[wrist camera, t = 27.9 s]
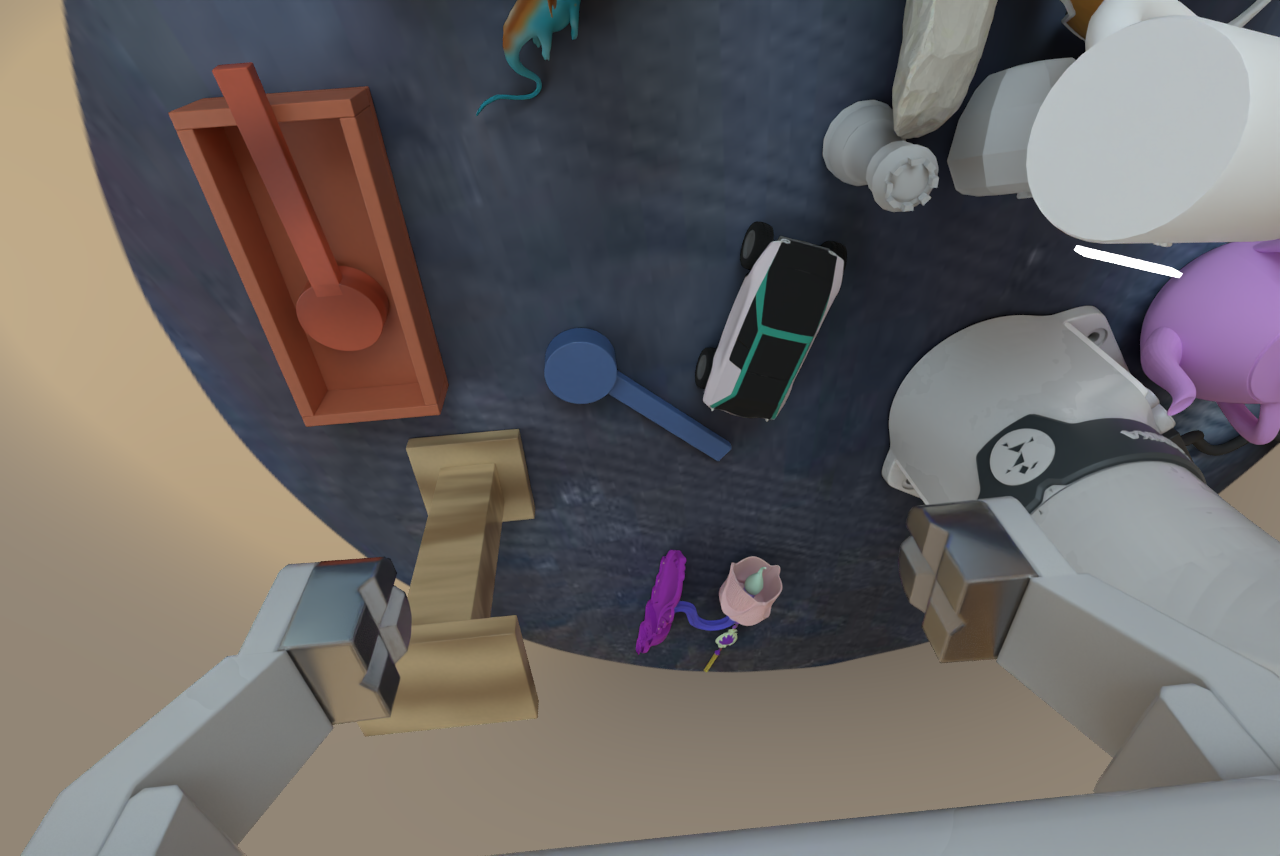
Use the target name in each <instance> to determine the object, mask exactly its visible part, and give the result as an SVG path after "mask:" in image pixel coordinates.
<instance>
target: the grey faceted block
mask: <svg viewBox="0 0 1280 856" xmlns="http://www.w3.org/2000/svg"><path fill="white" fill-rule="evenodd" d="M1075 61H1076V60H1075V59H1074V58H1072V57H1071V58H1060V59H1050V60H1042V61H1036V62H1032V63H1027V64H1023V65H1018V66H1015V67H1012V68H1009V69H1006V70H1003V71H1000V72H997V73H994V74H991V75H989V76H988V77H987V78H986V79H985V80H984V81H983V82H982V83H981V84H980V85H979V87H978V88H977V89H976V90H975V92H974V93H973V95H972V97H971V99H970V101H969V102H968V104H967V106H966V108H965V110H964V111H963V113H962V115H961V117H960V119H959V121H958V124H957V128H956V131H955V135H954V138H953V142H952V145H951V149H950V152H949V156H948V160H947V163H948V166H949V169H950V172H951V176H952V179H953V182H954V186H955V189H956V190H957V191H958V192H960V193H961V194H964V195H972V196H991V195H1003V194H1012V193H1018V194H1017V198H1018V199H1021V198H1030V197H1033V196H1032V193H1031V190H1030V187H1029V184H1028V177H1027V168H1026V160H1027V146H1028V142H1029V138H1030V134H1031V130H1032V126H1033V124H1034V121H1035V119H1036V116H1037V114H1038V112H1039V109H1040V107H1041V105H1042V104H1043V102H1044V100H1045V98H1046V97H1047V95H1048V93H1049V92H1050V90H1051V88H1052V87H1053V86H1054V85H1055V83H1056V82H1057V81H1058V79H1059V78H1060V77H1061V76H1062V74H1063V73H1064V72H1065V71H1066V70H1067V69H1068V68H1069V67H1070V66H1071V65H1072V64H1073V63H1074V62H1075Z"/></svg>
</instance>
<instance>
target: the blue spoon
mask: <svg viewBox="0 0 1280 856" xmlns="http://www.w3.org/2000/svg"><path fill="white" fill-rule="evenodd" d="M544 376H545V381H546V383H547V385H548V387H549V389H550V390H551V391H552V392H553V393H554V394H555V395H556V396H557V397H559V398H560V399H562V400H564V401H567V402H570V403H575V404H587V403H592V402H595V401H597V400H599V399H601V398H603V397H604V396H606V395H607V394H610V395H611V396H613V397H614V398H616V399H618V400H619V401H621V402H622V403H624V404H626V405H627V406H629V407H631V408H632V409H634V410H635V411H637V412H639V413H640V414H642V415H644V416H645V417H647V418H648V419H650V420H652V421H653V422H655V423H656V424H658V425H660V426H661V427H663V428H665V429H666V430H668V431H669V432H671V433H673V434H674V435H676V436H678V437H679V438H681V439H682V440H684V441H686V442H687V443H689V444H690V445H692V446H694V447H695V448H697V449H699V450H700V451H702V452H703V453H705V454H707V455H708V456H710V457H712V458H713V459H715V460H716V461H719V460H720V459H721V458H722V457H724V456H725V455H726V454H727V453H728V452H729V451H730V450H731V449H732V447H731V444H730V442H728V441H727V440H725V439H724V438H722V437H721V436H719V435H717V434H716V433H714V432H713V431H711V430H710V429H708V428H706V427H705V426H703V425H702V424H700V423H699V422H697V421H696V420H694V419H692V418H691V417H689V416H688V415H686V414H685V413H683V412H682V411H680V410H678V409H677V408H675V407H674V406H672V405H671V404H669V403H667V402H666V401H664V400H663V399H661V398H660V397H658V396H657V395H655V394H653V393H652V392H650V391H649V390H647V389H646V388H644V387H643V386H641V385H639V384H638V383H636V382H635V381H633V380H632V379H630V378H628V377H627V376H625V375H624V374H622V373H621V372H619V371H618V370H617V365H616V355H615V351H614V348H613V346H612V344H611V343H610V341H609V340H608V339H607V338H606V337H605V336H603V335H602V334H601V333H599V332H597V331H594V330H591V329H587V328H573V329H569V330H566V331H564V332H562V333H560V334H558V335H557V336H556V337H555V338H554V339H553V340H552V341H551V342H550V344H549V346H548V348H547V350H546V355H545V367H544Z"/></svg>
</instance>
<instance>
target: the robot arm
mask: <svg viewBox="0 0 1280 856" xmlns="http://www.w3.org/2000/svg"><path fill="white" fill-rule="evenodd" d="M1074 251H1076V252H1078V253H1079V254H1081V255H1083V256H1085V257H1089V258H1094V259H1098V260H1102V261H1107V262H1111V263H1115V264H1120V265H1124V266H1129V267H1133V268H1137V269H1142V270H1146V271H1150V272H1155V273H1159V274H1163V275H1168V276H1172V277H1176V278H1180V277H1181V275H1182V274H1183V273H1181V272H1179V271H1177V270H1175V269H1173V268H1171V267H1167V266H1163V265H1159V264H1155V263H1150V262H1146V261H1142V260H1137V259H1133V258H1129V257H1125V256H1120V255H1116V254H1112V253H1107V252H1103V251H1099V250H1095V249H1090V248H1086V247H1082V246H1078V245H1077V246H1076V248H1075V249H1074ZM1090 334H1091V335H1090ZM1089 335H1090V336H1089ZM1088 336H1089V337H1088ZM1159 403H1160V402H1159V400H1158V398H1157V397H1156V396H1155V394H1154V393H1153V392H1152V391H1151V390H1149V389H1148V388H1146V387H1144V386H1143V384H1142V383H1140V382H1139V381H1138V380H1137V379H1136V378H1135V377H1133V376H1132V375H1131V374H1130V372H1129V369H1128V367H1127V365H1126V362H1125V360H1124V358H1123V356H1122V353H1121V351H1120V349H1119V346H1118V344H1117V342H1116V340H1115V337H1114V335H1113V333H1112V330H1111V328H1110V326H1109V323H1108V321H1107V319H1106V317H1105V316H1104V315H1103V314H1102V313H1101V312H1100V311H1099V310H1098V309H1097V308H1096V307H1094V306H1082V307H1077V308H1073V309H1070V310H1067V311H1063V312H1060V313H1057V314H1054V315H1049V316H1031V315H1012V316H1004V317H998V318H993V319H990V320H986V321H983V322H980V323H977V324H974V325H972V326H969V327H967V328H965V329H963V330H961V331H959V332H957V333H955V334H953V335H952V336H950V337H948V338H947V339H945V340H944V341H942V342H941V343H939V344H938V345H937V346H935V347H934V348H933V349H932V350H930V351H929V352H928V353H927V354H926V355H925V356H924V357H923V358H921V360H920V361H919V362H918V363H917V364H916V365H915V366H914V367H913V368H912V369H911V371H910V372H909V373H908V375H907V376H906V377H905V379H904V380H903V382H902V383H901V385H900V387H899V389H898V391H897V393H896V395H895V397H894V400H893V403H892V406H891V410H890V415H889V434H890V450H889V452H888V454H887V457H886V459H885V462H884V465H883V468H882V476H883V478H884V479H885V480H886V482H887V483H888V484H889V485H890V486H892V487H894V488H896V489H899V490H901V491H904V492H906V493H909V494H911V495H914V496H916V497H919V498H921V499H922V500H923V502H924V503H925V504H926V505H919V506H913V508H912V509H911V510H910V511H909V513H908V517H907V521H906V526H907V528H908V530H909V531H910V533H911V536H910V537H909V538H908V539H906V540H905V541H904V542H903V543H902V544H901V547H900V552H899V557H898V565H899V576H900V580H901V583H902V586H903V590H904V592H905V594H906V596H907V598H908V600H909V602H910V603H911V604H912V605H914V606H915V607H917V608H918V609H920V610H921V611H922V612H924V613H925V616H924V620H923V623H922V628H923V630H924V632H925V634H926V636H927V638H928V640H929V642H930V644H931V646H932V648H933V650H934V652H935V654H936V656H937V658H938V660H939V662H940V663H948V662H960V661H961V662H962V661H976V660H990V659H997V660H996V662H997V663H998V664H999V665H1001V666H1002V667H1003V668H1004V669H1005V670H1006V671H1008V672H1009V673H1010V674H1011V675H1013V676H1014V677H1015V678H1016V679H1018V680H1019V681H1020V682H1021V683H1022V684H1024V685H1025V686H1026V687H1027V688H1029V689H1030V690H1031V691H1032V692H1033V693H1035V694H1036V695H1037V696H1038V697H1040V698H1041V699H1042V700H1043V701H1044V702H1046V703H1047V704H1048V705H1049V706H1050V707H1052V708H1053V709H1054V710H1055V711H1057V712H1058V713H1059V714H1060V715H1061V716H1063V717H1064V718H1065V719H1066V720H1067V721H1069V722H1070V723H1071V724H1072V725H1074V726H1075V727H1076V728H1077V729H1078V730H1080V731H1081V732H1082V733H1083V734H1085V735H1086V736H1087V737H1088V738H1089V739H1091V740H1092V741H1093V742H1094V743H1096V744H1097V745H1098V746H1099V747H1100V748H1102V749H1103V750H1104V751H1105V752H1107V753H1108V754H1109V755H1110V756H1111V757H1113V759H1112V761H1111V762H1110V764H1109V765H1108V767H1107V768H1106V769H1105V771H1104V772H1103V774H1102V775H1101V777H1100V778H1099V780H1098V781H1097V784H1096V786H1095V789H1094V792H1095V793H1093V794H1084V795H1074V796H1065V797H1055V798H1045V799H1036V800H1025V801H1016V802H1006V803H997V804H986V805H977V806H967V807H957V808H947V809H938V810H927V811H918V812H908V813H898V814H888V815H879V816H869V817H858V818H849V819H839V820H829V821H819V822H809V823H799V824H791V825H780V826H771V827H760V828H750V829H741V830H731V831H721V832H712V833H702V834H692V835H682V836H672V837H663V838H653V839H644V840H634V841H624V842H614V843H605V844H594V845H585V846H575V847H565V848H555V849H547V850H536V851H526V852H516V853H507V854H498V855H487V856H1280V542H1279V541H1278V540H1276V539H1274V538H1273V537H1272V536H1270V535H1269V534H1268V533H1266V532H1265V531H1264V530H1262V529H1261V528H1260V527H1258V526H1257V525H1255V524H1254V523H1253V522H1252V521H1250V520H1249V519H1248V518H1246V517H1245V516H1244V515H1243V514H1241V513H1240V512H1239V511H1237V510H1236V509H1235V508H1234V507H1232V506H1231V505H1230V504H1229V503H1227V502H1226V501H1225V500H1224V499H1222V498H1221V497H1220V496H1219V495H1218V494H1217V493H1215V492H1214V491H1213V490H1212V489H1211V488H1209V487H1208V486H1207V485H1206V481H1205V478H1204V475H1203V474H1202V472H1201V471H1200V469H1199V468H1198V467H1197V466H1196V465H1195V464H1194V462H1193V460H1192V458H1191V456H1190V454H1189V452H1188V450H1187V448H1186V446H1188V445H1190V444H1193V445H1194V446H1195V447H1196V448H1197V449H1198V450H1199V451H1201V452H1203V453H1206V454H1209V455H1223V454H1227V453H1229V452H1232V451H1234V450H1236V449H1238V448H1240V447H1242V446H1244V445H1245V444H1247V443H1249V441H1248V440H1246V439H1245V438H1243V437H1242V436H1241V435H1240V436H1238V437H1236V438H1234V439H1233V440H1231V441H1229V442H1227V443H1224V444H1221V445H1210V444H1209V443H1207V442H1206V441H1205V440H1204V439H1203V438H1204V434H1203V432H1201V431H1199V430H1197V431H1191V432H1189V433H1186V434H1184V435H1182V436H1180V434H1179V433H1178V432H1177V431H1176V430H1175V429H1173V427H1174V426H1175V421H1174V419H1173V418H1172V417H1171V416H1168V415H1167V411H1166V410H1165V409H1164V408H1163V407H1162V406H1161V405H1160V404H1159ZM1274 440H1276V441H1278V442H1280V431H1279V432H1278V434H1277V435H1276V437H1275V438H1274ZM396 575H397V572H396V570H395V568H394V565H393V563H392V561H391V559H390V558H386V557H376V558H362V559H348V560H335V561H321V562H315V563H301V564H288V565H287V566H285V567H284V568H283V569H282V570H281V571H280V572H279V573H278V575H277V577H276V579H275V581H274V583H273V585H272V587H271V589H270V591H269V593H268V595H267V597H266V599H265V601H264V603H263V605H262V607H261V609H260V611H259V613H258V615H257V617H256V619H255V621H254V623H253V625H252V627H251V629H250V631H249V633H248V635H247V637H246V639H245V641H244V643H243V645H242V647H241V649H240V651H239V653H238V655H234V656H227V657H226V658H224V659H223V660H222V661H221V662H220V663H218V664H217V665H216V666H215V667H213V668H212V669H211V670H210V671H209V672H207V673H206V674H205V675H204V676H202V677H201V678H200V679H199V680H198V681H196V682H195V683H194V684H193V685H192V686H190V687H189V688H188V689H187V690H185V691H184V692H183V693H182V694H180V695H179V696H178V697H177V698H175V699H174V700H173V701H172V702H171V703H169V704H168V705H167V706H166V707H165V708H163V709H162V710H161V711H160V712H158V713H157V714H156V715H155V716H153V717H152V718H151V719H150V720H149V721H147V722H146V723H145V724H144V725H142V726H141V727H140V728H139V729H138V730H136V731H135V732H134V733H133V734H131V735H130V736H129V737H128V738H127V739H125V740H124V741H123V742H122V743H120V744H119V745H118V746H117V747H115V748H114V749H113V750H112V751H111V752H109V753H108V754H107V755H106V756H105V757H103V758H102V759H101V760H100V761H98V762H97V763H96V764H95V765H93V766H92V767H91V768H90V769H89V770H87V771H86V772H85V773H84V774H82V775H81V776H80V777H79V778H78V779H76V780H75V781H74V782H73V783H71V784H70V785H69V786H68V787H67V788H65V789H64V790H63V791H62V792H61V793H59V795H58V797H57V798H56V800H55V801H54V803H53V805H52V806H51V808H50V809H49V811H48V812H47V814H46V816H45V817H44V819H43V820H42V822H41V824H40V825H39V827H38V828H37V830H36V832H35V833H34V835H33V836H32V838H31V839H30V841H29V843H28V844H27V846H26V848H25V849H24V851H23V853H22V854H21V855H20V856H246V854H245V853H244V852H243V851H242V850H241V849H240V848H239V847H238V846H237V845H238V844H239V843H240V842H241V840H242V839H243V838H244V837H245V835H246V834H247V833H248V832H249V831H250V829H251V828H252V827H253V826H254V825H255V823H256V822H257V821H258V820H259V818H260V817H261V816H262V815H263V814H264V812H265V811H266V810H267V809H268V808H269V806H270V805H271V804H272V803H273V801H274V800H275V799H276V798H277V797H278V795H279V794H280V793H281V791H282V790H283V789H284V788H285V787H286V786H287V784H288V783H289V782H290V780H291V779H292V778H293V777H294V776H295V775H296V773H297V772H298V771H299V770H300V768H301V767H302V766H303V765H304V763H305V762H306V761H307V760H308V759H309V757H310V756H311V755H312V754H313V753H314V751H315V750H316V749H317V748H318V746H319V745H320V744H321V743H322V742H323V740H324V739H325V738H326V737H327V735H328V734H329V733H330V732H331V731H332V729H333V725H334V724H343V723H350V722H358V721H366V720H374V719H382V718H390V717H391V713H392V709H393V705H394V701H395V697H396V694H397V690H398V686H399V682H400V678H401V677H400V675H399V673H398V671H397V668H396V666H395V664H396V663H397V662H398V661H399V660H400V659H401V658H402V657H403V656H404V655H405V654H406V653H407V651H408V646H409V642H410V638H411V623H412V615H411V610H410V604H409V601H408V598H407V596H406V594H405V592H404V591H402V590H401V589H399V588H397V587H396V586H394V581H395V578H396Z"/></svg>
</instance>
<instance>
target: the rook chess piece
mask: <svg viewBox="0 0 1280 856" xmlns="http://www.w3.org/2000/svg"><path fill="white" fill-rule="evenodd" d="M823 157H824V160H825V163H826V166H827V169H828V170H829V171H830V172H832V173H833V174H834V175H835V176H836V177H837V178H839V179H840V180H841V181H842V182H845V183H848V184H852V185H855V186H862V185H868V187H869V189H870V190H871V191H872V193H873V196H874V200H875V202H876V203H877V204H878V205H879V206H880V207H881V208H882V209H885V210H888V211H892V212H899V211H903V212H905V211H913V207H915V206H917V205H919V204H920V203H921V204H922V205H924V204H925V203H927V202H928V201H929V200H930V199H931V197H930V196H929V194H930V192H931V190H932V189H933V188H937V186H938V180H939V177H938V176H937V175H938V169H939V168H938V164H937V160H936V157H935V155H934V154H933V153H932V152H931V151H930V150H929V149H928V148H926V147H923V146H920V145H917V144H916V145H913V144H912V143H909V142H906V139H903V138H901V136H898V135H897V134H896V132H895V131H894V119H893V109H891V108H890V107H889V105H888V104H885V103H882V102H879V101H876V100H867V101H858V102H856V103H854V104H853V105H851V106H849V107H847V108H845V109H844V110H842V111H841V112H840V114H839V115H838V116H837V117H836V118H835V119H834V120H833V121H832V122H831V124H830V126H829V128H828V131H827V133H826V135H825V137H824V143H823Z"/></svg>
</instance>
